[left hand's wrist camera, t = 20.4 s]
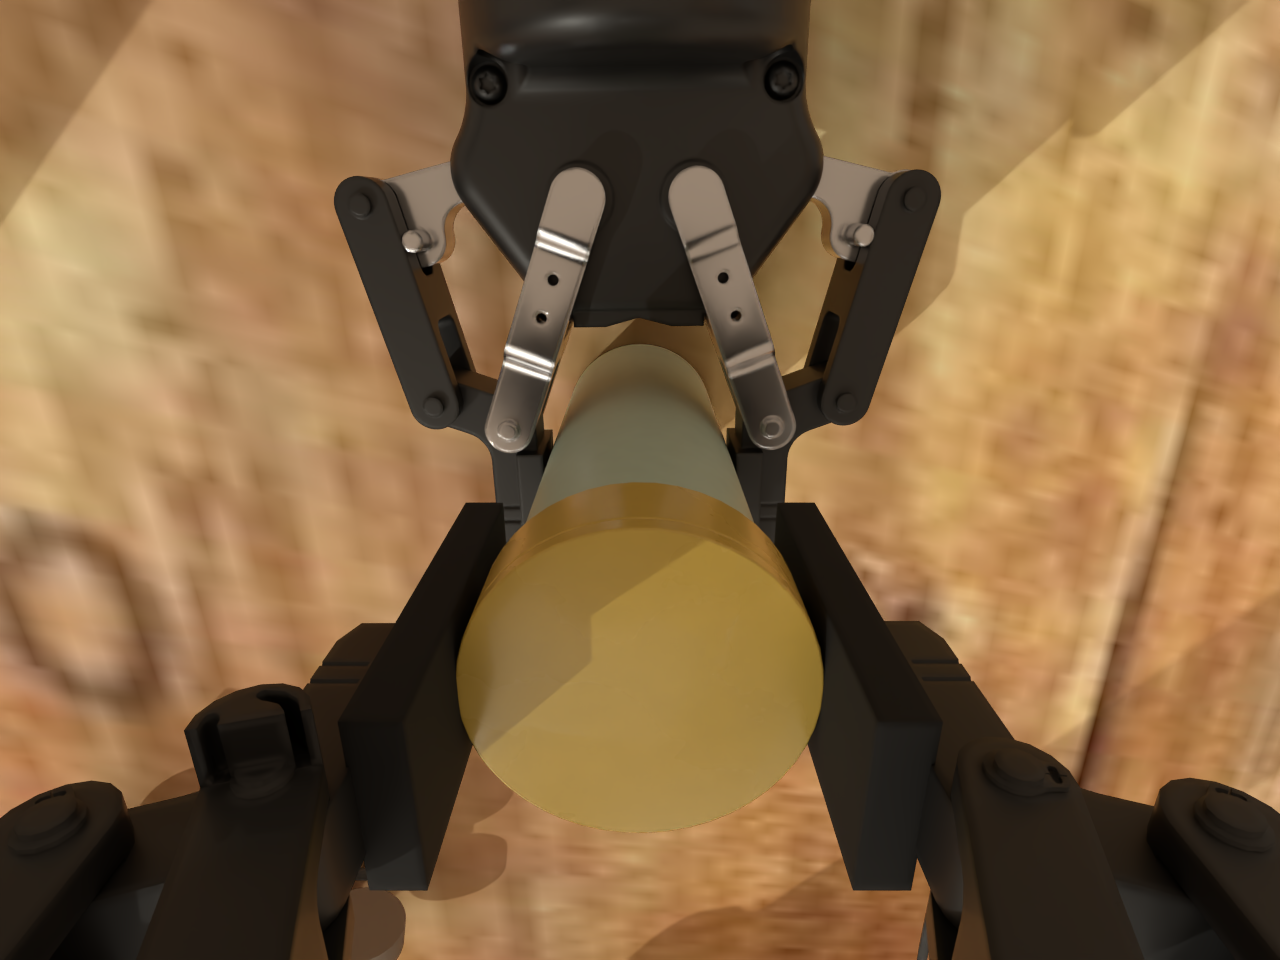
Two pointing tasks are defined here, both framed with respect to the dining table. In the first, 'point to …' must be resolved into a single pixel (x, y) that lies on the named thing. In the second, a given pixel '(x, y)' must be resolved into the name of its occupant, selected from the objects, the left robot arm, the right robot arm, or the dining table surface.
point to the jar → (640, 431)
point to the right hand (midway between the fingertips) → (642, 560)
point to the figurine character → (376, 923)
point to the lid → (639, 661)
